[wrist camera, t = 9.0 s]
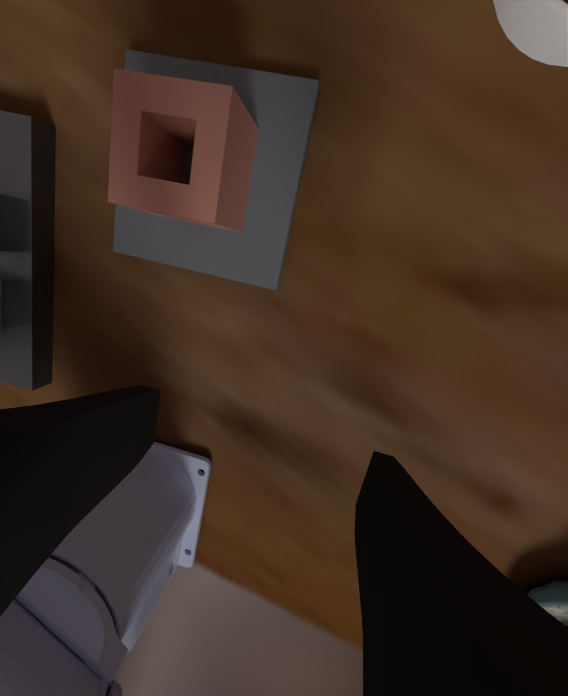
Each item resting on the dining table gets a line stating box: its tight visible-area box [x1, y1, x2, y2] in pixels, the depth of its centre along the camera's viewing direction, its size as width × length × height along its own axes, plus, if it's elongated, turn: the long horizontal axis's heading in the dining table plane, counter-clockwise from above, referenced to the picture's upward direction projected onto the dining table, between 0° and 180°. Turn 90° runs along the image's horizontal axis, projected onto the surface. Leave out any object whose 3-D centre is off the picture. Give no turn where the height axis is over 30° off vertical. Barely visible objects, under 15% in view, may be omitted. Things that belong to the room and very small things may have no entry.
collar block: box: [108, 69, 258, 233], centre depth 15 cm, size 5×5×4 cm
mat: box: [113, 49, 320, 290], centre depth 17 cm, size 10×10×1 cm
